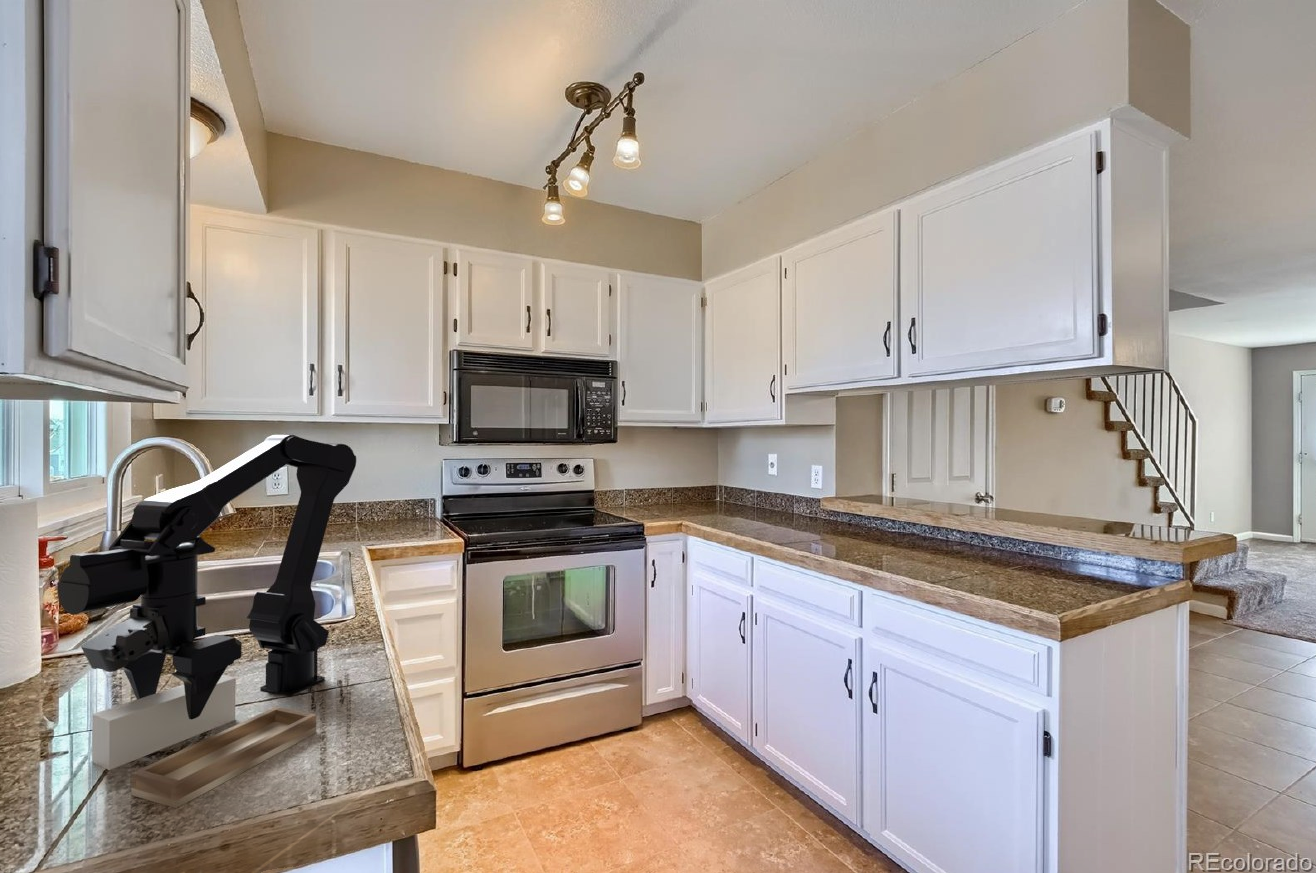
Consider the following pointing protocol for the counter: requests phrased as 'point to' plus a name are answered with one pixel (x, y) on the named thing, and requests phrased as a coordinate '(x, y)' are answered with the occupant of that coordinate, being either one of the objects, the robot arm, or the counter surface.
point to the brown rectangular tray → (221, 757)
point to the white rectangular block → (156, 723)
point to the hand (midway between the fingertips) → (169, 712)
